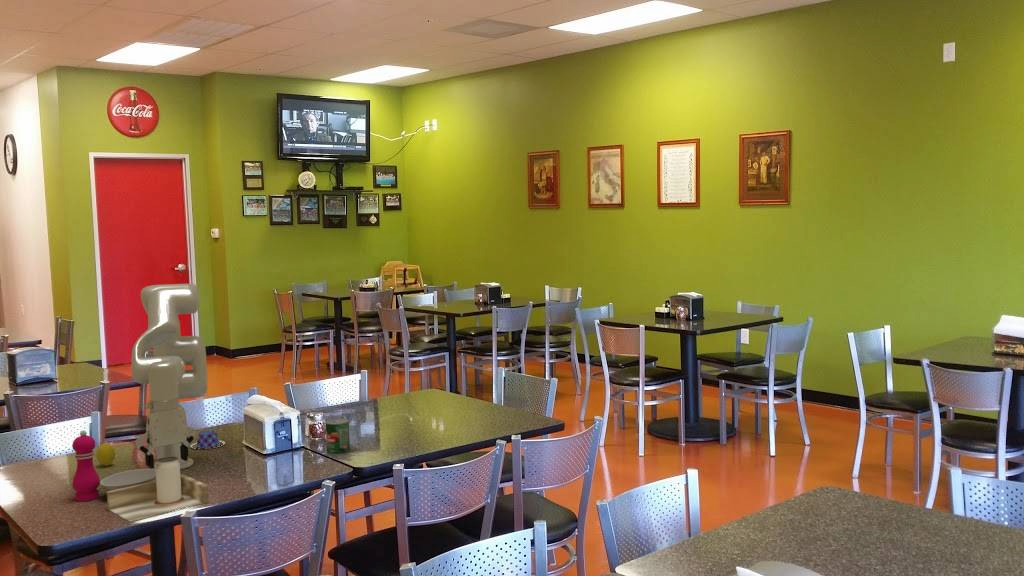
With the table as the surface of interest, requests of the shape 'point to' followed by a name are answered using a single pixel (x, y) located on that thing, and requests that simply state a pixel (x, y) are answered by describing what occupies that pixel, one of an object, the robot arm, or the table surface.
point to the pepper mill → (85, 469)
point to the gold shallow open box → (154, 499)
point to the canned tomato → (337, 436)
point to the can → (168, 480)
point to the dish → (128, 478)
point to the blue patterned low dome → (207, 440)
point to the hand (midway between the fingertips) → (167, 463)
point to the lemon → (105, 454)
